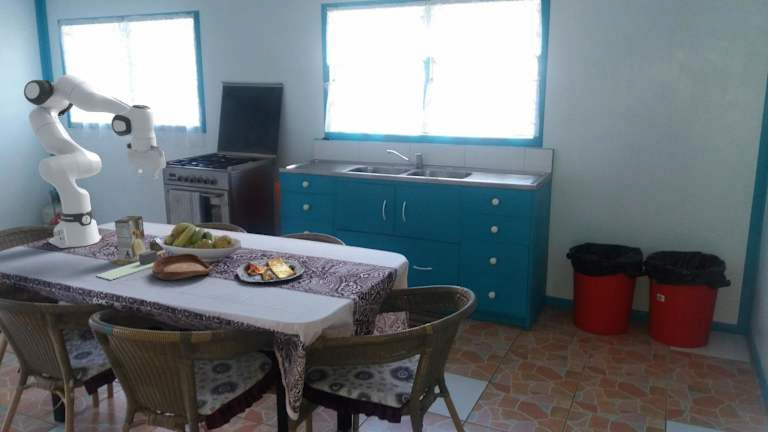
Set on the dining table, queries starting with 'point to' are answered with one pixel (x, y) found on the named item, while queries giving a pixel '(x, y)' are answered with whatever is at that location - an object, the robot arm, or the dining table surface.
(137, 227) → the coffee box
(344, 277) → the dining table surface
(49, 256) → the dining table surface
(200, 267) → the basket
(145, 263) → the sage strip
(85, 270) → the dining table surface
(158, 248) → the walnut strip
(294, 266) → the food plate
